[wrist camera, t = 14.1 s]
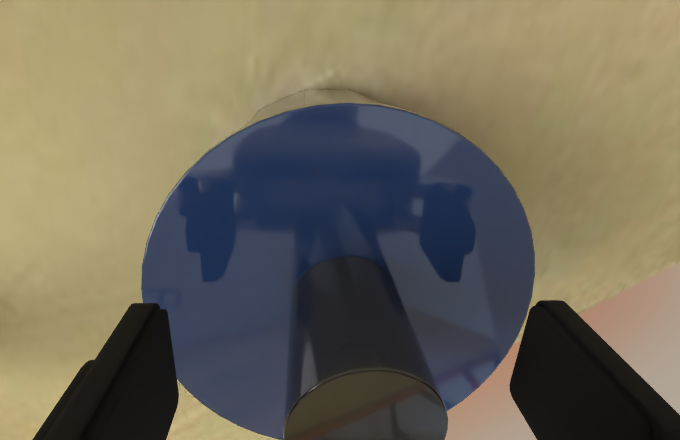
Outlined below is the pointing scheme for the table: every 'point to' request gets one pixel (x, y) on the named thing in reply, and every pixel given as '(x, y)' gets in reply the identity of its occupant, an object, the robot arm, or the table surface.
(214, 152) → the lid
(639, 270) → the table surface
